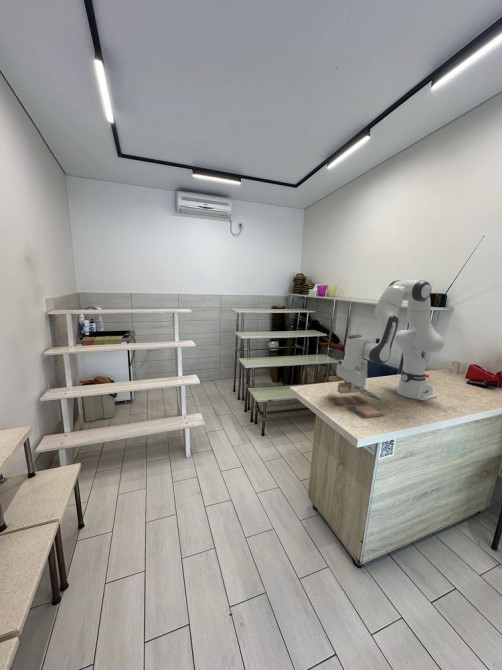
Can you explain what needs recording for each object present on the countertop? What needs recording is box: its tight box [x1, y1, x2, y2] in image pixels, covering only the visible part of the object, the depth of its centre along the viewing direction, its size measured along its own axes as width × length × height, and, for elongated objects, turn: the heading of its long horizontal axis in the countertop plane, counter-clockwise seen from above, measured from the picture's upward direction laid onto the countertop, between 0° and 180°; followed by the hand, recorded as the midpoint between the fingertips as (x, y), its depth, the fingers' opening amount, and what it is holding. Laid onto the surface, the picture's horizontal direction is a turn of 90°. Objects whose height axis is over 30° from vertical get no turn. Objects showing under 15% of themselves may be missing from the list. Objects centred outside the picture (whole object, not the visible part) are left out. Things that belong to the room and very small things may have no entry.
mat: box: [346, 405, 386, 420], centre depth 129 cm, size 14×12×1 cm
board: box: [327, 395, 369, 407], centre depth 141 cm, size 20×8×1 cm, turn 106°
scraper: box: [337, 381, 367, 394], centre depth 140 cm, size 5×16×5 cm, turn 106°
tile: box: [355, 405, 382, 418], centre depth 128 cm, size 8×2×8 cm
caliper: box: [360, 386, 385, 402], centre depth 151 cm, size 20×1×6 cm, turn 33°
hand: (348, 389), depth 140 cm, fingers closed on scraper, 3 cm apart
